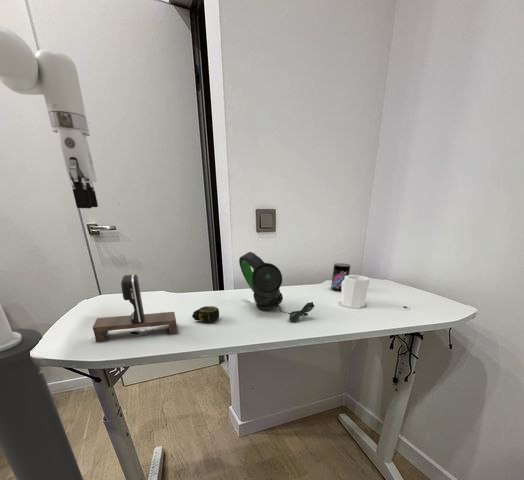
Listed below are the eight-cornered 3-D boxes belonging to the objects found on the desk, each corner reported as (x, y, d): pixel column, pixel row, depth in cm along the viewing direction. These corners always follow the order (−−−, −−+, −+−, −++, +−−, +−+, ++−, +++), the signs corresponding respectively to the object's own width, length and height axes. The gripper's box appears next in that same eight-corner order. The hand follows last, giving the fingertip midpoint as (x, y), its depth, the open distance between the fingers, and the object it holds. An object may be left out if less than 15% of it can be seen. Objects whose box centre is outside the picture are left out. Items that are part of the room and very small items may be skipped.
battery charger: (129, 315, 80) (121, 273, 75) (144, 314, 81) (137, 272, 76) (127, 324, 74) (118, 280, 69) (143, 323, 75) (136, 279, 70)
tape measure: (205, 315, 93) (204, 303, 91) (223, 318, 91) (223, 307, 89) (192, 322, 87) (191, 310, 86) (211, 326, 85) (210, 314, 83)
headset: (282, 341, 97) (236, 284, 108) (314, 320, 99) (267, 266, 110) (280, 314, 80) (227, 250, 91) (319, 289, 82) (263, 229, 93)
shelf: (96, 342, 74) (92, 327, 72) (100, 331, 80) (96, 317, 78) (177, 333, 80) (175, 320, 78) (175, 324, 85) (174, 311, 84)
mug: (369, 306, 105) (374, 279, 100) (348, 308, 102) (353, 281, 98) (349, 297, 115) (354, 272, 110) (330, 298, 112) (334, 273, 108)
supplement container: (327, 288, 126) (330, 263, 121) (340, 287, 128) (344, 262, 124) (336, 292, 120) (340, 266, 116) (349, 291, 123) (354, 265, 118)
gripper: (80, 119, 61) (99, 209, 69) (94, 134, 76) (108, 207, 84) (39, 115, 59) (63, 208, 67) (61, 131, 74) (78, 206, 82)
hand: (88, 207), depth 75 cm, fingers open, 9 cm apart
